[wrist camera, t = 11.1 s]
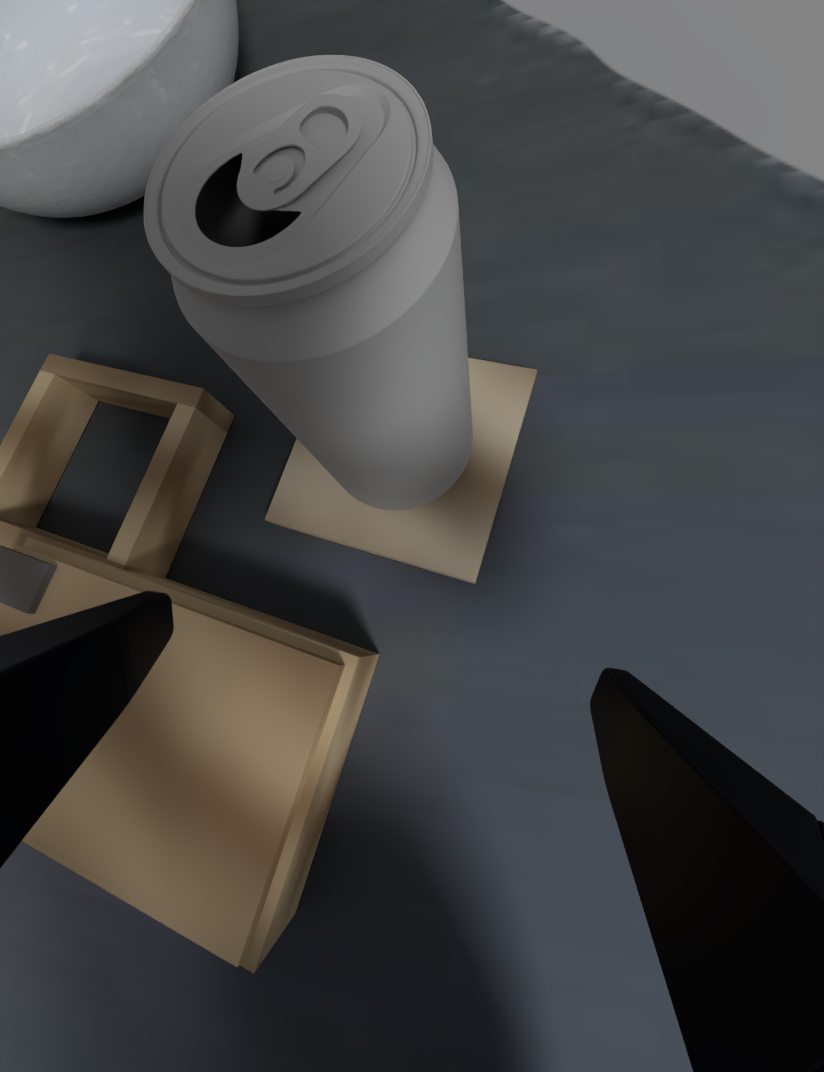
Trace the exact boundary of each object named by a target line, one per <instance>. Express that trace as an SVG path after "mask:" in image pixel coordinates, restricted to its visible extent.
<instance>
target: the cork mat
mask: <svg viewBox="0 0 824 1072" xmlns="http://www.w3.org/2000/svg"><path fill="white" fill-rule="evenodd" d="M468 364H469V380H470V395H471V411H472V426H473V444H472V450H471V454H470V457H469V460H468V463H467V465H466V467H465V469H464V471H463V472H462V474H461V475H460V477H459V478H458V480H457V481H456V482H455V483H454V484H453V485H452V486H451V487H450V488H449V489H448V490H447V491H446V492H445V493H444V494H442V495H441V496H439V497H438V498H436V499H435V500H433V501H431V502H429V503H427V504H424V505H422V506H419V507H415V508H411V509H405V510H384V509H379V508H375V507H371V506H369V505H366V504H364V503H362V502H360V501H358V500H357V499H355V498H354V497H353V496H351V495H350V494H349V493H348V492H347V491H346V490H345V489H344V488H343V487H342V486H341V485H340V484H339V483H338V482H337V481H336V480H335V479H334V477H333V476H332V475H331V474H330V473H329V472H328V471H327V470H326V469H325V468H324V467H323V466H322V465H321V464H320V463H319V461H318V460H317V459H316V458H315V457H314V456H313V455H312V454H311V453H310V452H309V451H308V450H307V449H306V448H305V447H304V445H303V444H302V443H301V442H300V441H299V440H298V439H296V441H295V444H294V446H293V449H292V451H291V454H290V456H289V459H288V462H287V464H286V467H285V469H284V472H283V474H282V477H281V479H280V482H279V484H278V487H277V489H276V492H275V494H274V497H273V500H272V502H271V505H270V507H269V510H268V512H267V515H266V517H265V520H266V521H268V522H270V523H272V524H276V525H279V526H282V527H286V528H289V529H293V530H296V531H299V532H303V533H306V534H309V535H313V536H316V537H319V538H323V539H326V540H329V541H333V542H336V543H339V544H343V545H346V546H349V547H353V548H356V549H359V550H363V551H366V552H369V553H373V554H376V555H380V556H383V557H386V558H390V559H393V560H396V561H400V562H403V563H406V564H410V565H413V566H416V567H420V568H423V569H426V570H430V571H433V572H436V573H440V574H443V575H446V576H450V577H453V578H456V579H460V580H463V581H467V582H470V583H473V584H475V583H476V580H477V576H478V573H479V570H480V566H481V563H482V559H483V556H484V552H485V549H486V546H487V542H488V539H489V535H490V532H491V529H492V525H493V522H494V518H495V515H496V512H497V508H498V505H499V501H500V498H501V494H502V491H503V488H504V484H505V481H506V477H507V474H508V471H509V467H510V464H511V460H512V457H513V453H514V450H515V447H516V443H517V440H518V436H519V433H520V430H521V426H522V423H523V419H524V416H525V412H526V409H527V406H528V402H529V399H530V395H531V392H532V389H533V385H534V382H535V378H536V373H537V370H536V369H530V368H524V367H518V366H513V365H507V364H501V363H496V362H490V361H484V360H478V359H473V358H468Z"/></svg>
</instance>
